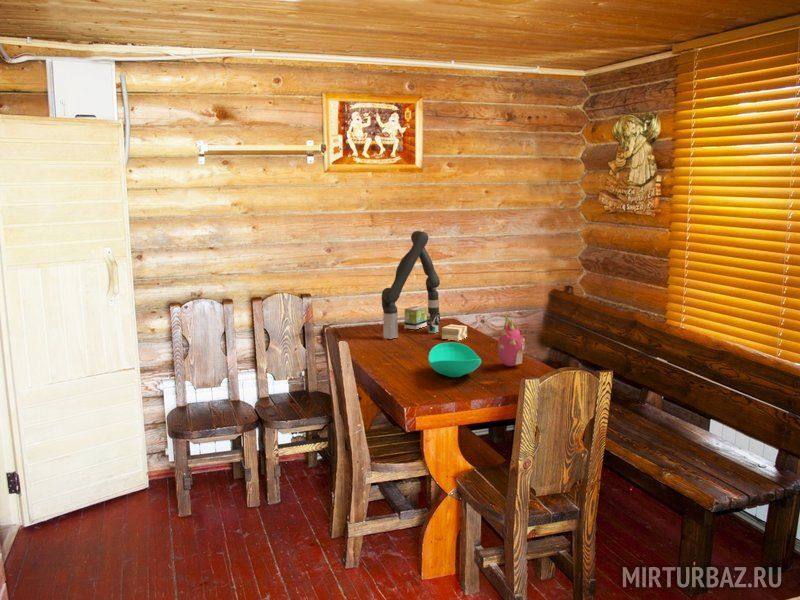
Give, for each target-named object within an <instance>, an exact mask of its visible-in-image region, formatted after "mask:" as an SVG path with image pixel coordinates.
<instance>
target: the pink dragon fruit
mask: <svg viewBox="0 0 800 600" xmlns="http://www.w3.org/2000/svg"><path fill="white" fill-rule="evenodd" d="M504 317H505V319H504V320H505V321H504V327H503V328H502V329H503V330H502V331H501V333H500V335H499V336H498V337H499V338H498V342H497V352H498V356H499V359H500V361H501V362H502V364H503V365H504V366H507V367H514V366H516V365H521V364H523V358H524V357H523V356H524V350H525V348H526V344H525V337H523V335H524V328H522V331H520V330H518V327H519V326H518V324H517V323H516V324H515V322H514V321H513V320H512V319H511V320H510V318H509V317H508V313H507V312H506V313H505V315H504Z"/></svg>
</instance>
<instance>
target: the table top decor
mask: <svg viewBox="0 0 800 600" xmlns="http://www.w3.org/2000/svg"><path fill="white" fill-rule="evenodd" d="M427 357H428V363H429V365H430V367H431V368H432V369H433V370H434V371H436V372H437V373H439V374H441V375H443V376H446V377H450V378H461V377H462V376H465V375H467V374H471V373H472V372H474V371H475V370H476V369H478V368H479V367H480V365H481V364H482V359H481V358H480V356H478V354H477V353H476V352H475V351H474V350H473V349H471V348H470V347H469V346H468V345H465V344H464V343H460V342H459V343H458V342H441V343H438V344H436V345H435V346H433V347H432V348H431V350H430V351H429V353H428V356H427Z"/></svg>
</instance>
